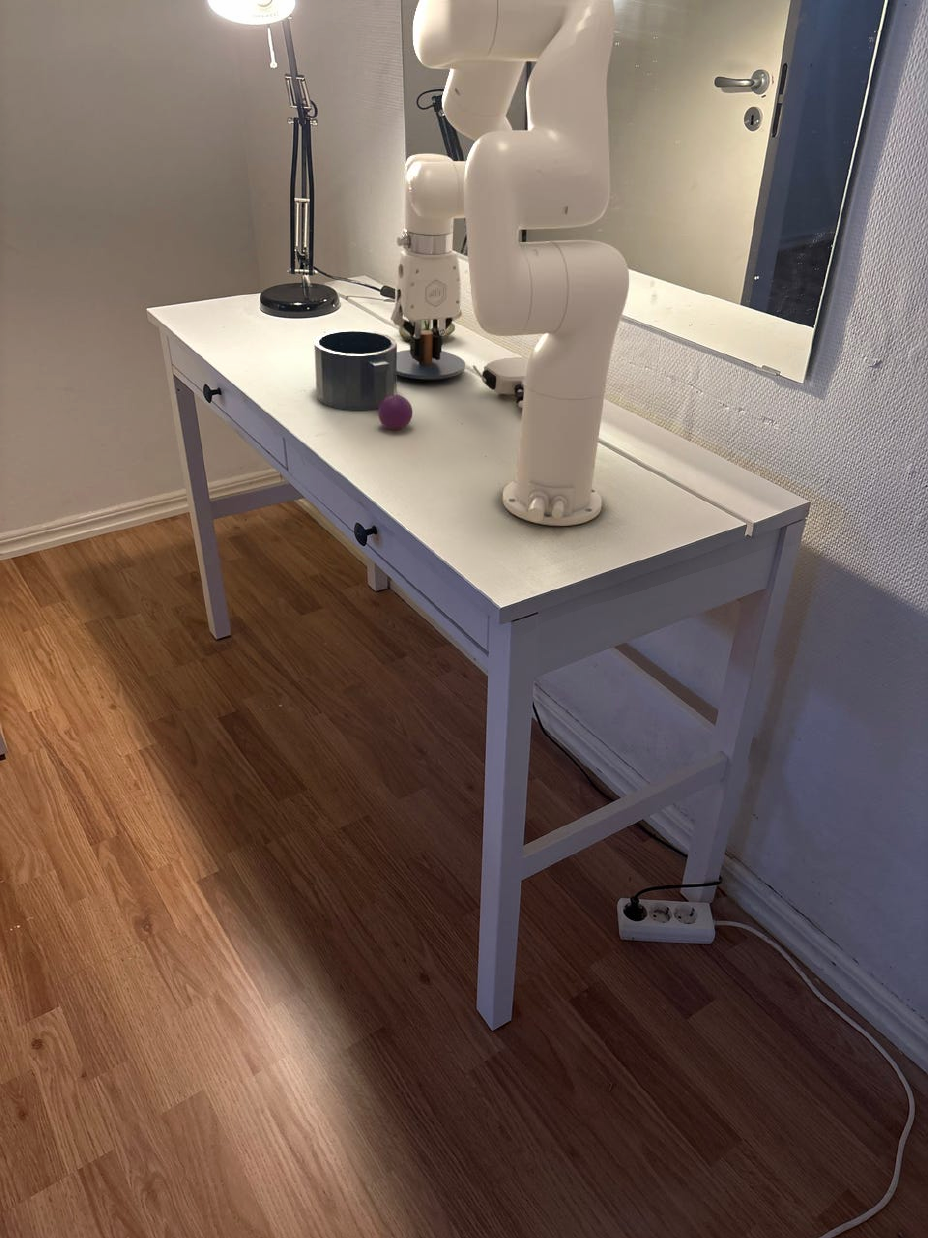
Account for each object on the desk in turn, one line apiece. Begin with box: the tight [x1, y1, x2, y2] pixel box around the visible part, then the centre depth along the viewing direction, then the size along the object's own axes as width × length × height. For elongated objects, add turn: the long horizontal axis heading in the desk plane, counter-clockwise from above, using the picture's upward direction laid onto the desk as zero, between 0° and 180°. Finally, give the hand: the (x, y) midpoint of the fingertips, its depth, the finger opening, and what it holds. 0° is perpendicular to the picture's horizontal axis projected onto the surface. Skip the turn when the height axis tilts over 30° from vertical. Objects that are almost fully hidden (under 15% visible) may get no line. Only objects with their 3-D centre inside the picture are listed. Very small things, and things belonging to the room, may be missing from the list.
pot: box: [313, 329, 398, 411], centre depth 143 cm, size 12×18×8 cm
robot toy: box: [472, 356, 529, 409], centre depth 147 cm, size 12×4×15 cm
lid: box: [398, 319, 456, 340], centre depth 171 cm, size 11×10×5 cm
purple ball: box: [377, 394, 413, 431], centre depth 134 cm, size 5×5×5 cm
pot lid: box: [397, 330, 466, 380], centre depth 154 cm, size 13×13×6 cm
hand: (425, 357), depth 154 cm, fingers closed on pot lid, 2 cm apart
